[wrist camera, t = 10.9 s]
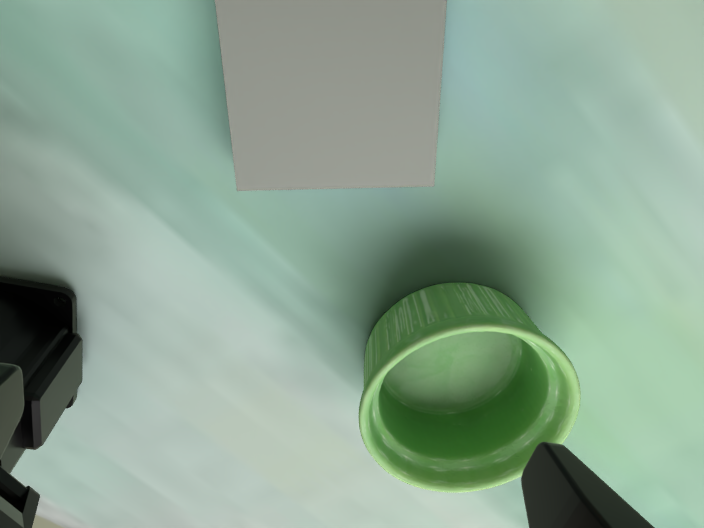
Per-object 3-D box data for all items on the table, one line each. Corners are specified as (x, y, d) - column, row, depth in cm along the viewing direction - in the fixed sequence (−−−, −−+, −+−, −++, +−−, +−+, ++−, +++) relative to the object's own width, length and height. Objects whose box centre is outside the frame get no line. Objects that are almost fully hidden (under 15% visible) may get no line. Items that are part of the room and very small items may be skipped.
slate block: (246, 169, 21) (237, 190, 18) (224, -35, 17) (210, -39, 15) (422, 165, 21) (433, 186, 19) (434, -37, 18) (449, -40, 15)
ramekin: (511, 427, 28) (542, 499, 24) (341, 414, 27) (344, 487, 23) (567, 279, 23) (615, 337, 20) (369, 258, 22) (379, 314, 19)
